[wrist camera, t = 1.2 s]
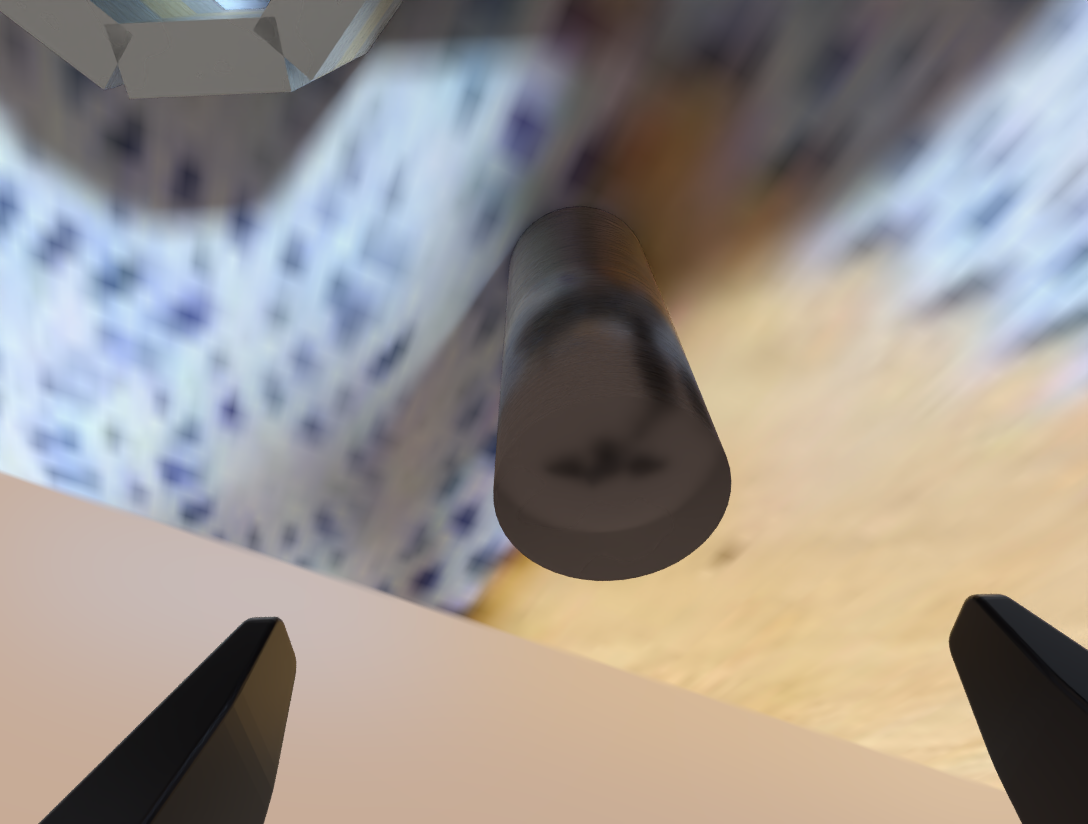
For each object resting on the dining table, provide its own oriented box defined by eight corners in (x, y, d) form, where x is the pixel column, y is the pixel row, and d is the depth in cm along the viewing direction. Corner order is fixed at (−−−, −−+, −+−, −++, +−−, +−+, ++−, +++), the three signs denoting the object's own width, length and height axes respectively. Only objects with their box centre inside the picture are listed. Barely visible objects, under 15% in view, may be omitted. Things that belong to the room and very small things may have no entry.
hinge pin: (649, 203, 19) (745, 391, 10) (643, 334, 21) (718, 576, 13) (504, 210, 19) (483, 402, 10) (513, 339, 21) (502, 584, 13)
